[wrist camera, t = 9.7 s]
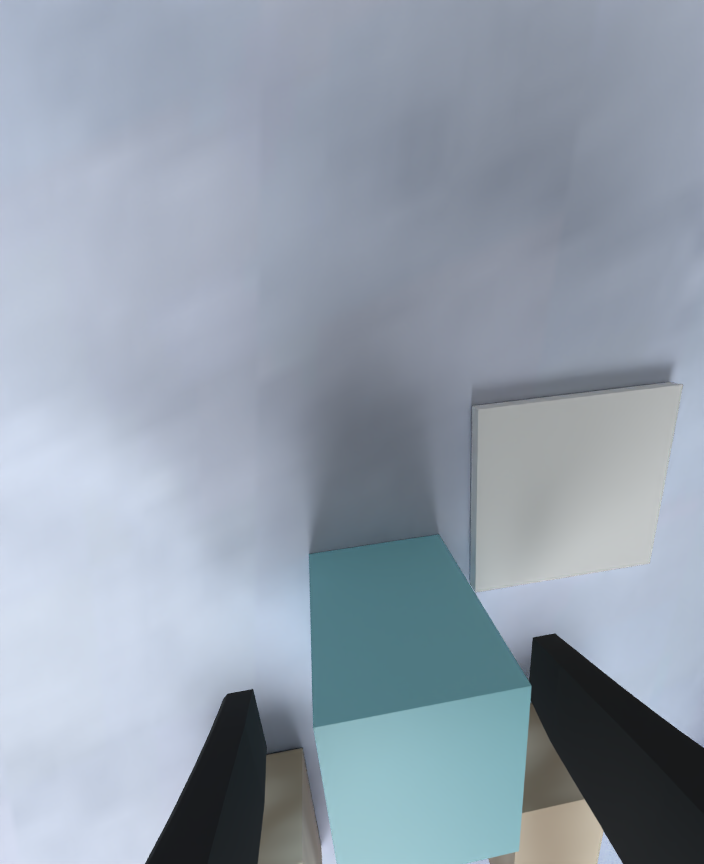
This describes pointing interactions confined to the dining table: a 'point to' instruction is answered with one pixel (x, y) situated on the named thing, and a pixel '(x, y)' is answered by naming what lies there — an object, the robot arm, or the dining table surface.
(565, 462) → the mat
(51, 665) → the dining table surface
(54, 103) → the dining table surface
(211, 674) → the dining table surface
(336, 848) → the plug
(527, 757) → the channel
